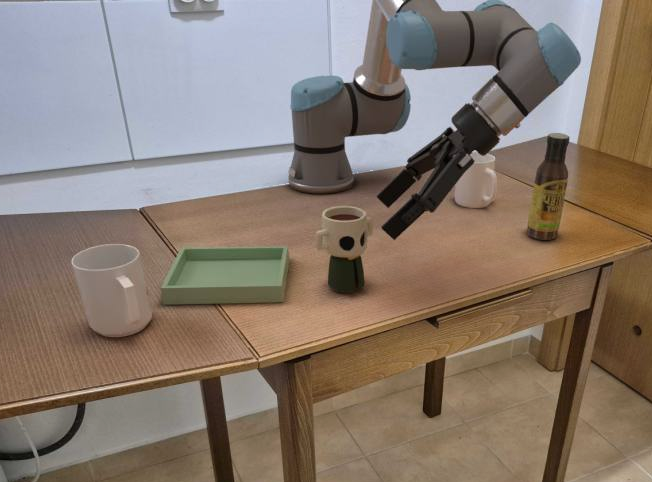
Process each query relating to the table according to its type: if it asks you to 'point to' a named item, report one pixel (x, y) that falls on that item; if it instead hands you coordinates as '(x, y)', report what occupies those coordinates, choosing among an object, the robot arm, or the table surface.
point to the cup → (477, 183)
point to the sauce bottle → (549, 190)
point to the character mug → (344, 245)
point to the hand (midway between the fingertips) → (384, 217)
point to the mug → (113, 289)
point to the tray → (227, 275)
